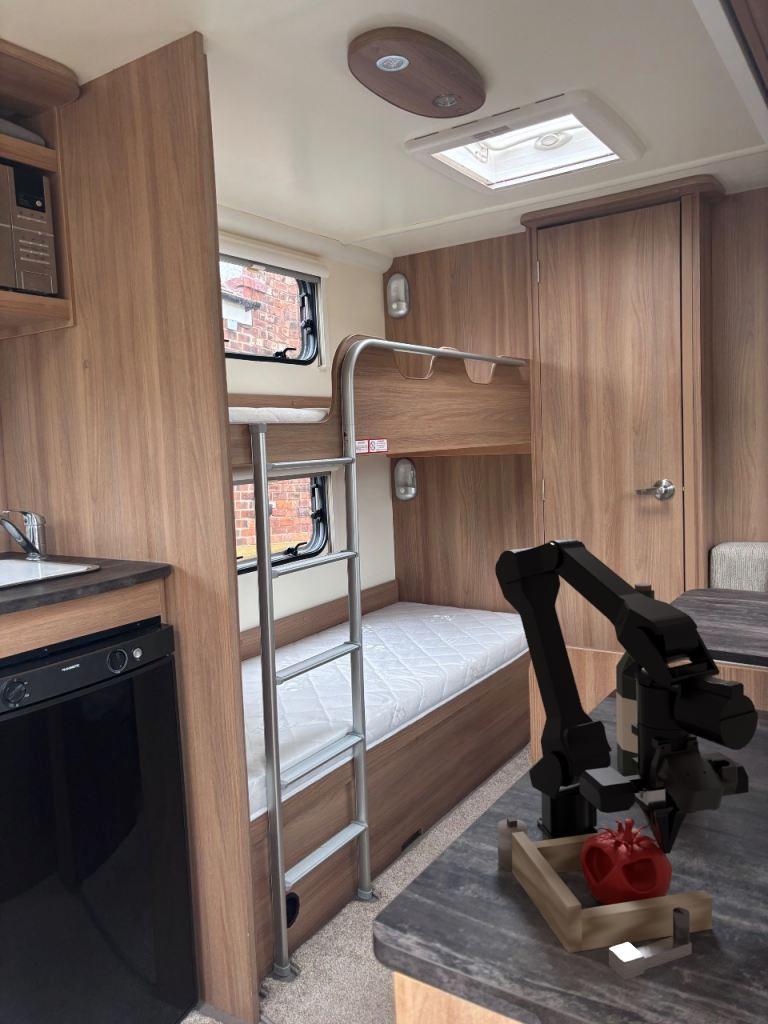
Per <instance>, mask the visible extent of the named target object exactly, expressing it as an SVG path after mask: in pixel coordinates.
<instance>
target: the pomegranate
mask: <svg viewBox="0 0 768 1024" xmlns="http://www.w3.org/2000/svg"><path fill="white" fill-rule="evenodd" d="M613 821H614V822H615V823H616V824H617V830H613V829H611V828H610V827H605V826H604V827H603V826H601V827H598V828H595V830H597V831H599V830H605V831H603V832H604V833H601V832H600V833H601V834H597V835H593V836H591V837H589V838H588V839H587V840H586V841H585V842H584V843H583V846H582V852H581V855H580V858H581V863H582V869H581V871H582V874H583V877H584V879H585V883H586V885H587V887H588V890H589V891H590V893H591V895H592V896H593V897H594V898H595V900H597V901H598V902H599V903H600V904H602V905H603V906H606V905H612V904H618V903H625V902H631V901H637V900H644V899H650V898H656V897H663V896H667V893H668V892H669V890H670V887H671V886H670V885H671V881H672V876H673V867H672V863H671V861H670V859H669V857H668V856H667V854H665V853H664V852H663V851H662V850H661V849H660V848H659V846H658V844H655V843H657V842H656V841H657V840H655V839H653V838H651V837H649V836H647V835H642V834H641V835H640V834H638V833H639V832H640V831H641V830H643V829H646V828H648V827H650V826H649V824H646V825H642V826H640V827H639V828H636V829H637V830H636V831H633V832H632V828H634V826H635V820H634V819H633V818H625V819H624V826H623V822H622V821H621V820H616V819H615V820H613Z"/></svg>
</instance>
